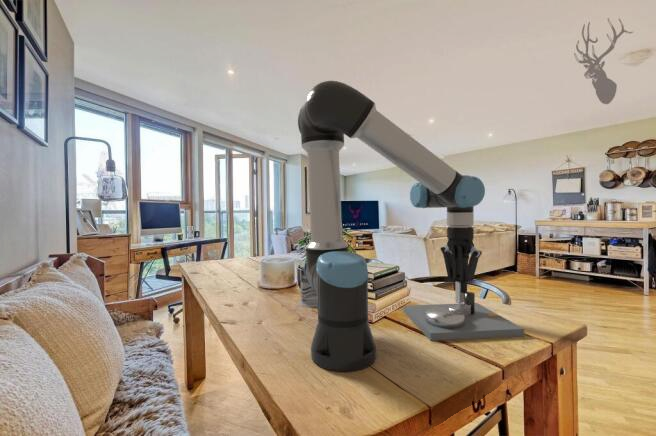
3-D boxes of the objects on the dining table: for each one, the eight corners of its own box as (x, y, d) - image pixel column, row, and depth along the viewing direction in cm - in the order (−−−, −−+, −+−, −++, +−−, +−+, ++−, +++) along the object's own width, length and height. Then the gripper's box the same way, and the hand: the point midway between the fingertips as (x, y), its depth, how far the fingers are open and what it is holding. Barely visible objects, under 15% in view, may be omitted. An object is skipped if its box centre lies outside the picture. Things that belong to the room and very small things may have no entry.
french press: (299, 298, 115) (298, 233, 114) (330, 298, 115) (329, 233, 114) (296, 307, 105) (294, 235, 105) (329, 307, 105) (328, 235, 104)
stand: (430, 340, 77) (430, 332, 77) (403, 311, 99) (403, 304, 99) (524, 336, 79) (524, 327, 79) (476, 308, 101) (476, 301, 101)
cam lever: (449, 331, 78) (449, 308, 77) (418, 320, 86) (418, 299, 86) (488, 316, 88) (488, 296, 88) (457, 307, 96) (457, 288, 96)
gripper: (487, 226, 89) (487, 305, 90) (449, 224, 100) (450, 295, 101) (472, 228, 85) (472, 310, 86) (434, 226, 97) (435, 299, 97)
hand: (460, 302), depth 94 cm, fingers closed
